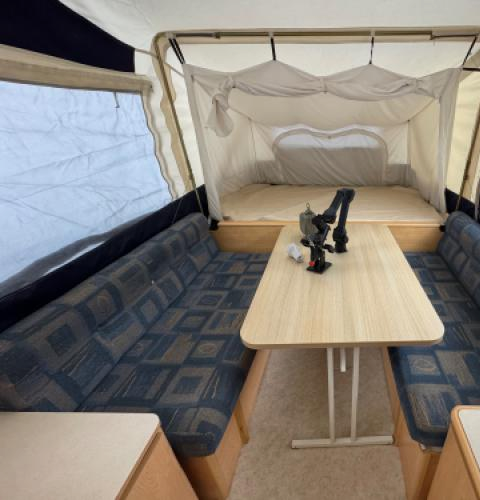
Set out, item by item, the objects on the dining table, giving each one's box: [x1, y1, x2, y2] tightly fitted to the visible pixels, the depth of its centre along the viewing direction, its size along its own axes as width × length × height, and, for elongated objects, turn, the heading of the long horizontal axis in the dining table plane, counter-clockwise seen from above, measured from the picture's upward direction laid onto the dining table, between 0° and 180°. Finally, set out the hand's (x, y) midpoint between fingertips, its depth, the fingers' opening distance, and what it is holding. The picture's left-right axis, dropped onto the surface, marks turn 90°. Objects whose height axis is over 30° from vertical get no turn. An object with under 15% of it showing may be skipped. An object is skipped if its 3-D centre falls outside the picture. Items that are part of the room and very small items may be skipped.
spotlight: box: [285, 242, 305, 263], centre depth 155 cm, size 8×11×8 cm
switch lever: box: [308, 254, 320, 266], centre depth 141 cm, size 11×3×3 cm, turn 151°
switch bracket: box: [306, 250, 333, 275], centre depth 145 cm, size 12×9×10 cm
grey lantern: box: [298, 202, 318, 239], centre depth 181 cm, size 14×9×25 cm, turn 22°
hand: (311, 260), depth 138 cm, fingers closed
